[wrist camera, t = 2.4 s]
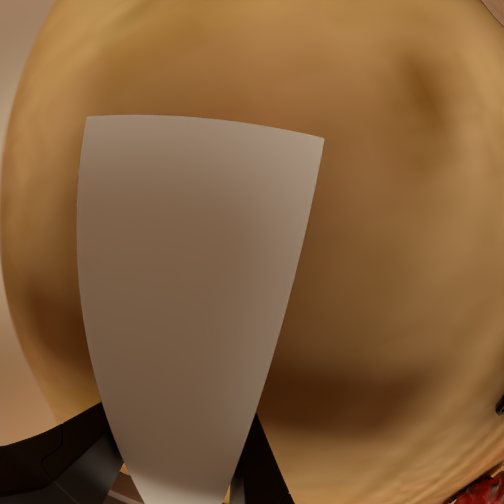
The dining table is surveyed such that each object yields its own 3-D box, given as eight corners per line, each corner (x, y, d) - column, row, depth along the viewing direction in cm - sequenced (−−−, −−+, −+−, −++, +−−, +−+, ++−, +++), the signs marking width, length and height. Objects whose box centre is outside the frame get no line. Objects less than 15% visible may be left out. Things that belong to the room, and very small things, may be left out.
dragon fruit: (508, 444, 13) (441, 487, 18) (496, 484, 8) (415, 523, 14) (529, 476, 7) (463, 515, 12) (518, 518, 2) (439, 552, 7)
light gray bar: (298, 157, 7) (324, 137, 3) (223, 473, 11) (211, 528, 8) (179, 139, 7) (87, 116, 3) (169, 459, 12) (149, 512, 8)
